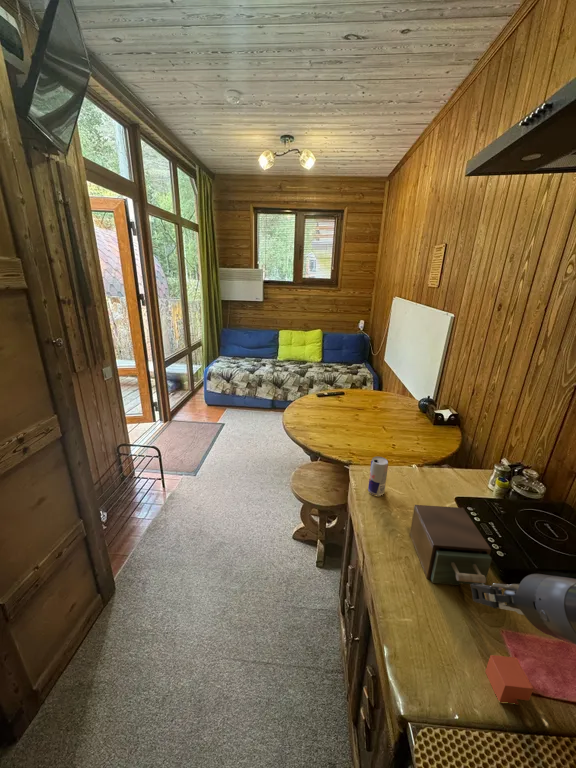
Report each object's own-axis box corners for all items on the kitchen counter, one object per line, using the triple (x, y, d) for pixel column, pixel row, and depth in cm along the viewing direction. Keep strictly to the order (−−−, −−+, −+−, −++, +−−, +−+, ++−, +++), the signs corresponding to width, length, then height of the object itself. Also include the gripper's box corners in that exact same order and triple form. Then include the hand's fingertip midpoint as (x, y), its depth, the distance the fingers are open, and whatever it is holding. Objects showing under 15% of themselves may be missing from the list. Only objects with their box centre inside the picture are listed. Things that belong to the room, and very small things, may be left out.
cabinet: (482, 583, 72) (491, 549, 69) (426, 578, 72) (433, 545, 69) (456, 538, 85) (463, 507, 81) (409, 534, 85) (414, 504, 82)
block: (510, 674, 55) (516, 657, 53) (526, 706, 51) (533, 688, 49) (485, 671, 55) (490, 654, 54) (499, 703, 51) (505, 685, 50)
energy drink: (366, 486, 106) (369, 455, 102) (382, 487, 106) (385, 456, 102) (369, 496, 101) (373, 464, 97) (386, 497, 100) (390, 465, 97)
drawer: (494, 605, 66) (503, 575, 63) (439, 600, 67) (446, 571, 64) (459, 543, 82) (465, 517, 79) (415, 540, 82) (419, 514, 80)
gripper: (612, 580, 42) (534, 571, 57) (505, 572, 43) (454, 564, 58) (637, 650, 39) (547, 621, 53) (519, 639, 40) (462, 613, 54)
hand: (499, 592), depth 56 cm, fingers open, 8 cm apart
